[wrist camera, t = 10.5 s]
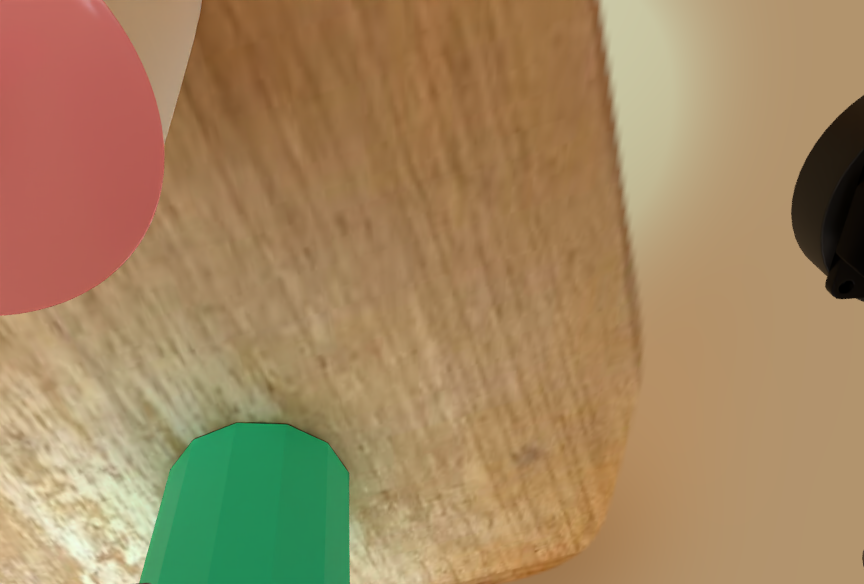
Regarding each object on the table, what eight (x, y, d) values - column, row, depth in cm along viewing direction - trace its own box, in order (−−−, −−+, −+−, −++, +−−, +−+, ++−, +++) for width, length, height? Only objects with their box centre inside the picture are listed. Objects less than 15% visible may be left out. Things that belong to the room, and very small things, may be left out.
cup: (233, -156, 15) (-11, -115, 5) (258, 105, 18) (140, 478, 7) (-49, -166, 14) (-1023, -147, 4) (24, 104, 17) (-440, 507, 7)
